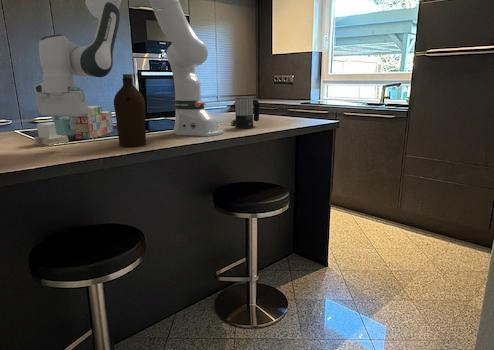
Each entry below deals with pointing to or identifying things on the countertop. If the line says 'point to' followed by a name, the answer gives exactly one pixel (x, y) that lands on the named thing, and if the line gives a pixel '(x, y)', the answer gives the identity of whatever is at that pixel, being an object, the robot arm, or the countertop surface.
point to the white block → (47, 130)
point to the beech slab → (50, 140)
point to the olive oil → (130, 114)
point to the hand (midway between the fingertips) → (66, 129)
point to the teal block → (63, 127)
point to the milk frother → (245, 112)
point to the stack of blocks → (94, 123)
